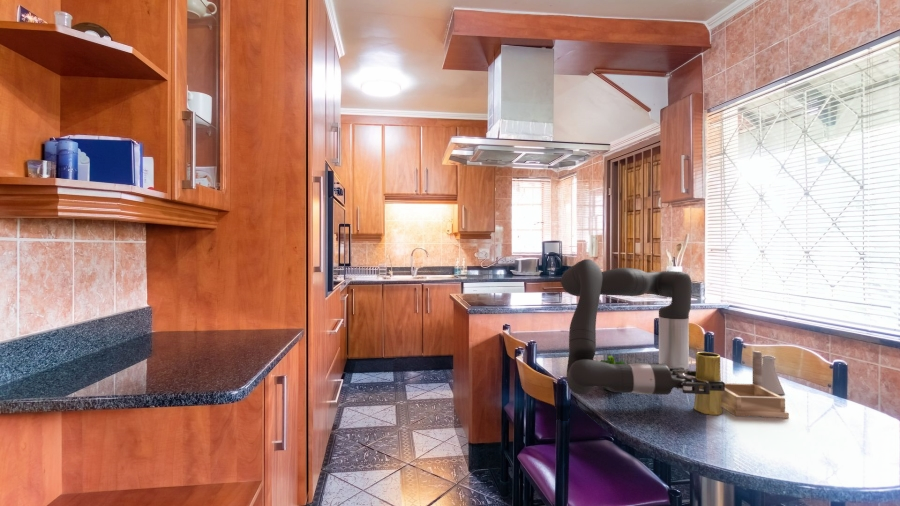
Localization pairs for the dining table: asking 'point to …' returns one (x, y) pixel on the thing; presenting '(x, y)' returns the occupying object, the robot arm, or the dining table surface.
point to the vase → (711, 372)
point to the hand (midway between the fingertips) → (714, 380)
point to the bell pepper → (612, 362)
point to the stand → (753, 396)
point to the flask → (770, 376)
